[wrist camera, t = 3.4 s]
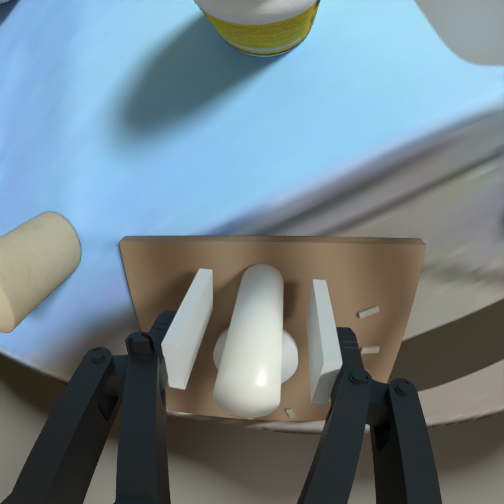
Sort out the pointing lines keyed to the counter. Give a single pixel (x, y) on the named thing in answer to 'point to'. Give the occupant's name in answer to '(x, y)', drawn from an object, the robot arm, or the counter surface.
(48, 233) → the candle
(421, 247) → the board
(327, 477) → the robot arm
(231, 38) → the supplement bottle
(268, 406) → the handle
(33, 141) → the counter surface
